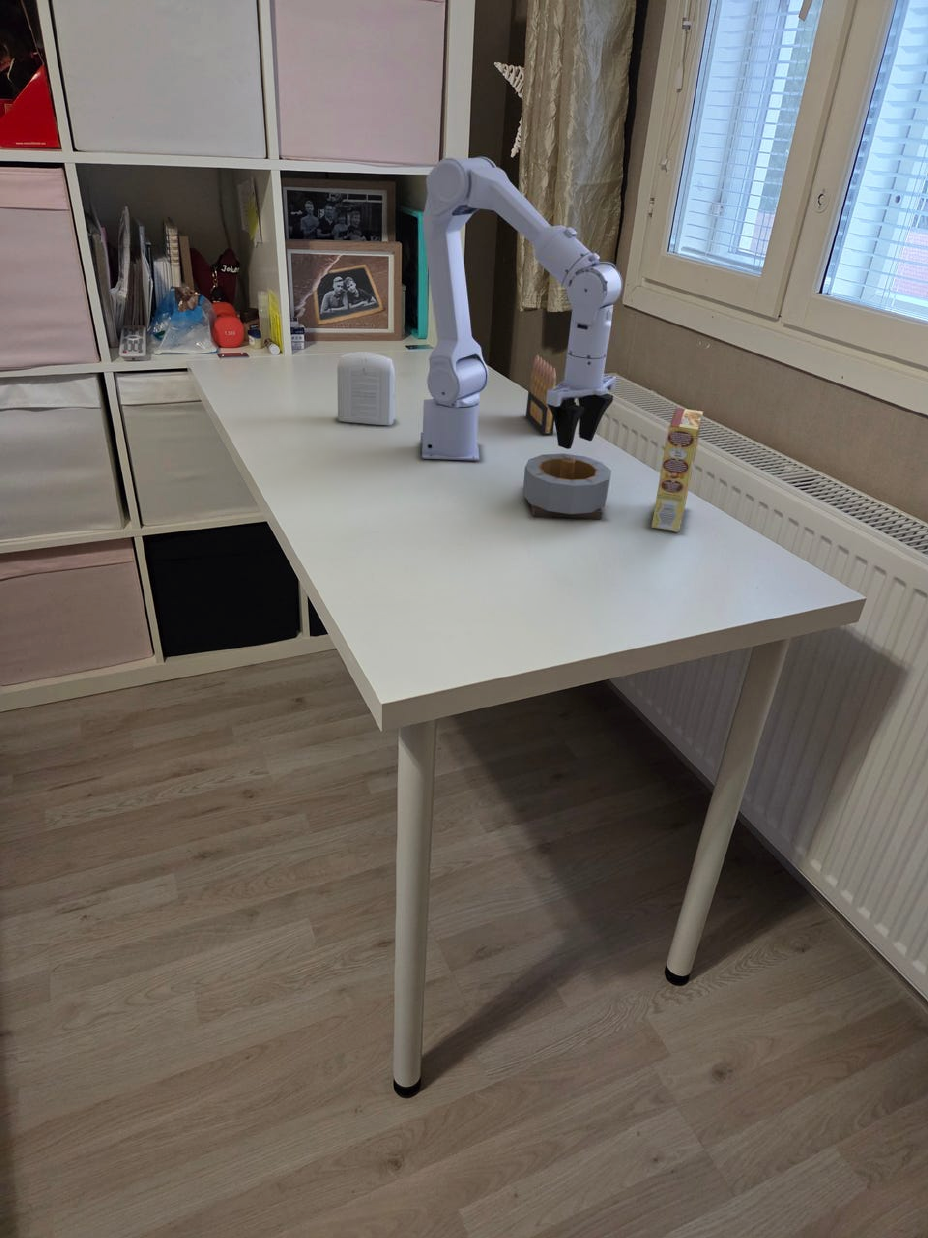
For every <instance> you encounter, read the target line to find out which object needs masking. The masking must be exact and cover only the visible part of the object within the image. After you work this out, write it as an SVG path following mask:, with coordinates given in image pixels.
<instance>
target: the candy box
mask: <svg viewBox="0 0 928 1238" xmlns="http://www.w3.org/2000/svg"><path fill="white" fill-rule="evenodd" d="M703 415H704V411H700V410H696V409H695V410H694V409H686V408H680V407H676V408H675V409H674V412H673V415H672V418H671V420H670V423H669V426H668V428H667V429H668V430H667V434H666V435H667V436H666V441H665V447H664V452H663V457H662V463H661V469H660V475H659V482H658V488H657V492H656V493H657V494H656V498H655V505H654V511H653V517H652V522H651V528H652V529H658V530H663V531H670V532H675V533H678V532H679V531H680V528H681V526H682V521H683V516H684V512H685V509H686V504H687V498H688V494H689V489H690V484H691V479H692V475H693V469H694V465H695V460H696V453H697V450H698V449H697V448H698V443H699V438H700V431H701V425H702V420H703Z"/></svg>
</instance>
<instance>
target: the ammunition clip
mask: <svg viewBox="0 0 928 1238" xmlns="http://www.w3.org/2000/svg"><path fill="white" fill-rule="evenodd" d="M556 375H557V374H556V367H552V364H549V362H548V361H546V359H543V358H542V356H540V355H539V354H538V353H537V354H536V355H535V358H534V361H533V367H532V374H531V376H530V386H529V390H528V392H527V399H526V409H525V418H526V420H528V421H529V422H530V423H531V424H532V425H533V426H534V427H535V428H536V429H537V431H538V432H539V433H540V434H541V435H543V436H553V434H554V426H555V422H554V419H553V416H552V413H551V411H550V409H549V407H548V404H546V398H547V391H548V390H551V389H553V388H554V387H556V378H557V377H556Z"/></svg>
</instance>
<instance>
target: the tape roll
mask: <svg viewBox="0 0 928 1238" xmlns="http://www.w3.org/2000/svg"><path fill="white" fill-rule="evenodd" d="M563 458H572V459H574V460H575V467H574V475H573V480H571V479H564V478H560V469H561V461H562V459H563ZM523 471H524V472H523V483H522V492H521V494H522V496H523V497H524V498H525V500H526V501H527V502H528V503H529V504H530V505H531V504H532V505H535V506H537V507H540V508H542V509H545V510H547V511H553V512H559V513H566V514H578V513H591V512H594V511H596V510H598V509H600V508H601V509H603V508H605V507H606V504H607V500H608V496H609V495H608V494H609V488H610V482H611V481H610V480H611V474H612V470H611V469H610V468H609V467H608V466H607V465H605V464H604V463H603V462H601V461H599V460H597V459H593V458H590V457H588V456H584V455H578V454H569V453H547V454H541V455H536V456H534V457H531V458H529V459H528V460H527V462H526V464H525V466H524V470H523Z"/></svg>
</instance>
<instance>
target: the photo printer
mask: <svg viewBox="0 0 928 1238" xmlns="http://www.w3.org/2000/svg"><path fill="white" fill-rule="evenodd" d="M338 359H339V360H338V363H337V367H336V368H337V369H336V371H337V373H336V374H337V420H338V421H339V422H345V423H354V424H355V423H357V424H367V425H368V424H369V425H377V426H392V425H393V424H394V421H395V418H394V417H395V381H396V380H395V378H396V377H395V375H396V372H395V366H394V360H393V359H392V358H390V357H388V356H385V355H383V354H378V353H374V352H365V351H357V352H349V353H346V354H341V355H340V356H339V358H338Z"/></svg>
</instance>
